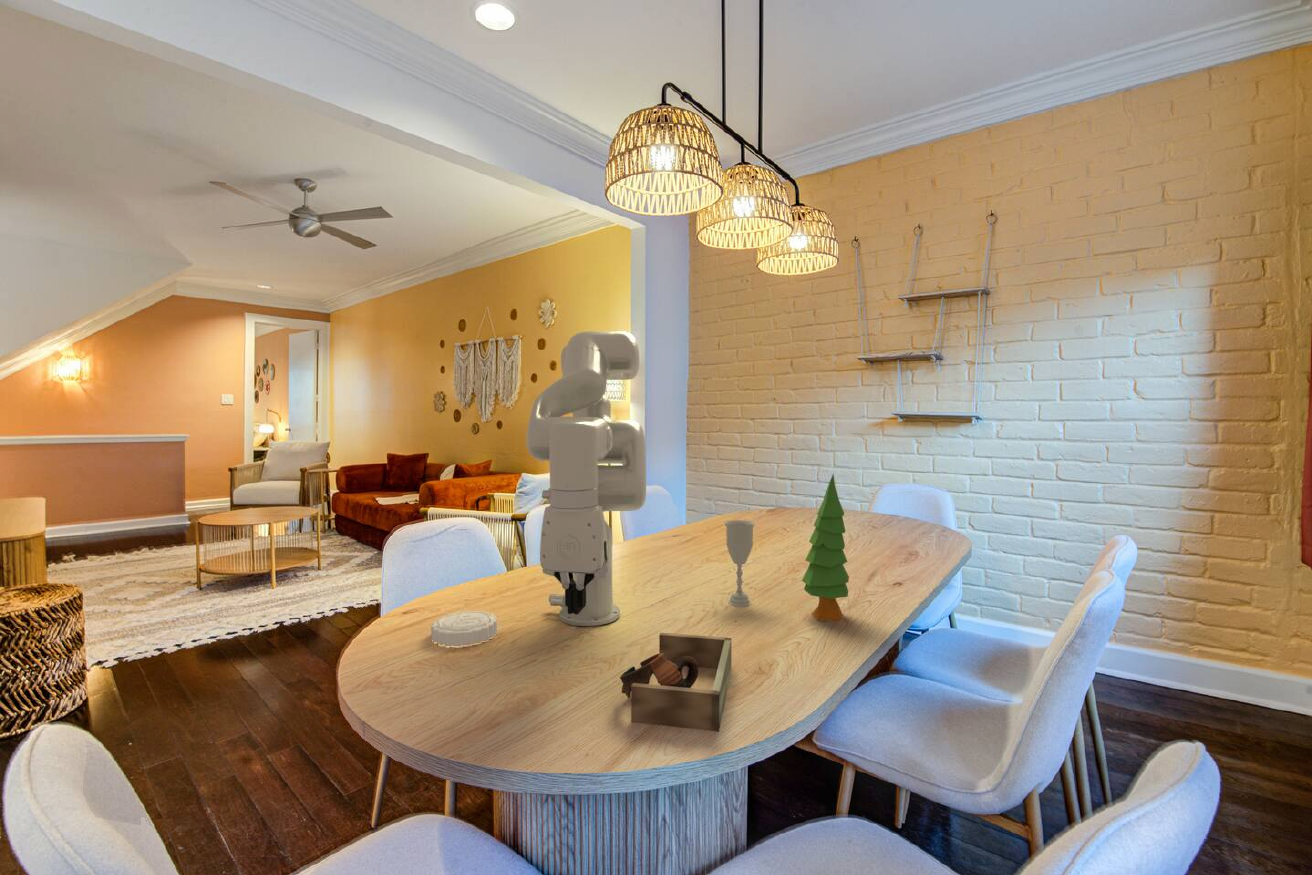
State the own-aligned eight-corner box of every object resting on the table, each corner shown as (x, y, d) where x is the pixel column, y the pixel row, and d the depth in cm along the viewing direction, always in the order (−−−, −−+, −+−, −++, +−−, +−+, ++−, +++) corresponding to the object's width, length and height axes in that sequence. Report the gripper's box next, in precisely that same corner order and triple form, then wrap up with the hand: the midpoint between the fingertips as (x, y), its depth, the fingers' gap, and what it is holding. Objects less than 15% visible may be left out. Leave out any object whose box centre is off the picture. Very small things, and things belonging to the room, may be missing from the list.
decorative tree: (847, 626, 115) (848, 475, 114) (798, 621, 119) (799, 474, 118) (849, 611, 124) (850, 471, 123) (804, 606, 128) (804, 470, 127)
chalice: (754, 609, 126) (754, 526, 125) (722, 607, 127) (722, 525, 127) (755, 598, 133) (755, 520, 132) (725, 597, 134) (725, 519, 134)
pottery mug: (656, 735, 77) (628, 676, 79) (629, 735, 85) (604, 681, 87) (722, 689, 84) (695, 635, 86) (691, 692, 92) (667, 643, 93)
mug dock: (631, 721, 80) (631, 685, 80) (660, 661, 99) (660, 632, 99) (719, 731, 77) (719, 694, 77) (731, 667, 97) (731, 637, 97)
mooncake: (490, 648, 106) (490, 629, 106) (422, 651, 105) (422, 631, 105) (502, 624, 118) (502, 607, 118) (441, 627, 117) (441, 609, 117)
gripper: (519, 501, 90) (522, 616, 92) (613, 505, 87) (614, 624, 88) (539, 492, 97) (541, 599, 99) (626, 496, 94) (626, 606, 96)
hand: (575, 610), depth 94 cm, fingers closed
